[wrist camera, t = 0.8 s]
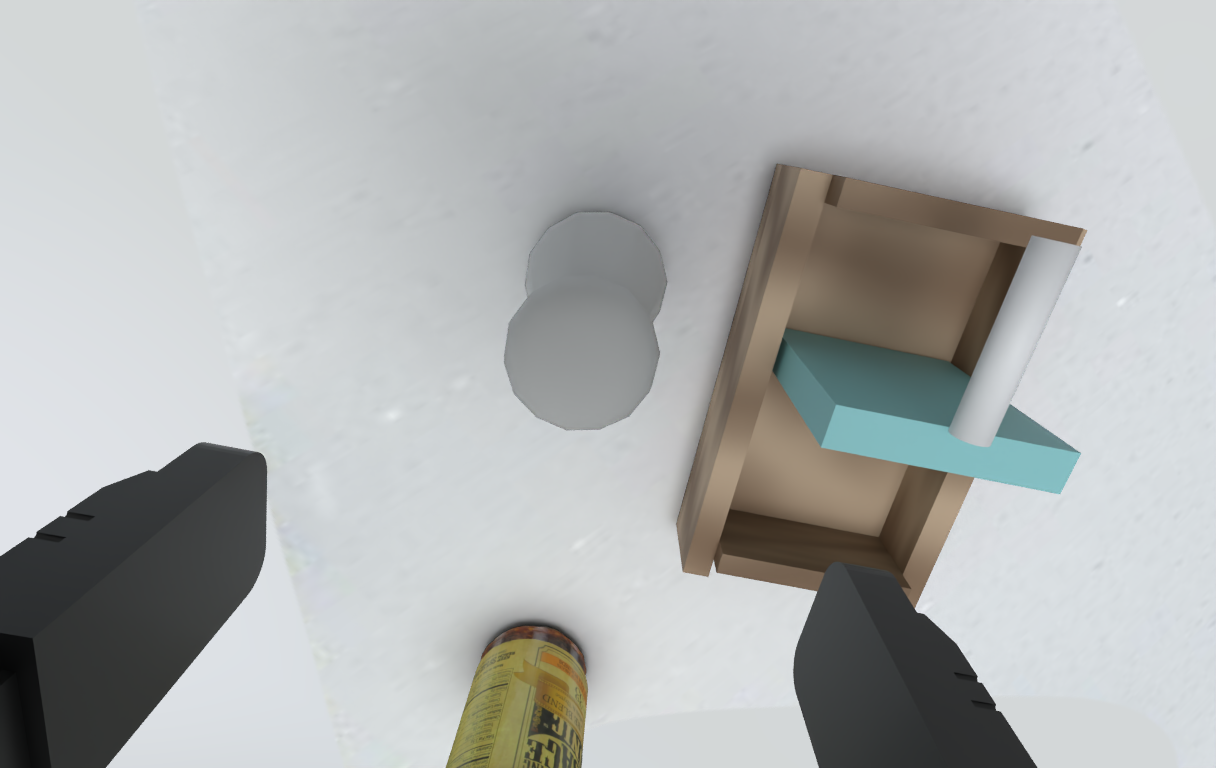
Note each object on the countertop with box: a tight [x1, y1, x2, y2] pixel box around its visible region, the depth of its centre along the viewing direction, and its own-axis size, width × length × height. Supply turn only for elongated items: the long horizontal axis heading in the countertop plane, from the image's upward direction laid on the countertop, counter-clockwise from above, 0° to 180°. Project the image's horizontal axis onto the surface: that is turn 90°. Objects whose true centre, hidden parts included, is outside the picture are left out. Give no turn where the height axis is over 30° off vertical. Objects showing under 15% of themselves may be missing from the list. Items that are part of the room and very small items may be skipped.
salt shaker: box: [504, 212, 667, 430], centre depth 23 cm, size 6×6×13 cm
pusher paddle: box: [772, 236, 1081, 494], centre depth 23 cm, size 8×8×10 cm
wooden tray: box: [676, 164, 1087, 609], centre depth 28 cm, size 18×11×6 cm, turn 169°
